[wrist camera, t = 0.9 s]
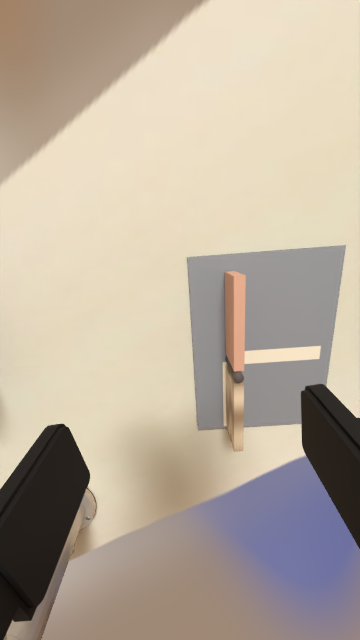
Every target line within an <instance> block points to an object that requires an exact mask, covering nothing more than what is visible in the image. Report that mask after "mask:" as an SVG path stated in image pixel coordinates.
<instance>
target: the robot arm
mask: <svg viewBox="0 0 360 640" xmlns="http://www.w3.org/2000/svg"><path fill="white" fill-rule="evenodd" d="M301 422H302V445H303V449H304V452H305V454H306V456H307V457H308V459H309V461H310V462H311V464H312V466H313V468H314V469H315V471H316V473H317V475H318V477H319V478H320V480H321V482H322V483H323V485H324V487H325V489H326V490H327V492H328V494H329V496H330V498H331V499H332V501H333V503H334V505H335V506H336V508H337V510H338V512H339V513H340V515H341V517H342V519H343V520H344V522H345V524H346V526H347V527H348V529H349V531H350V533H351V534H352V536H353V538H354V540H355V541H356V543H357V545H358V547H359V548H360V418H356V417H355V416H354V415H353V414H352V413H351V412H350V411H349V410H348V409H347V408H346V407H345V406H344V405H343V404H342V403H341V402H340V401H339V400H338V398H337V397H336V396H335V395H334V394H333V393H332V392H331V391H330V390H329V389H328V388H327V387H326V386H325V385H324V384H316V385H309V386H306V387H305V390H303V391H301ZM89 480H90V473H89V470H88V468H87V466H86V464H85V461H84V459H83V457H82V455H81V453H80V451H79V448H78V446H77V444H76V442H75V440H74V438H73V436H72V433H71V431H70V429H69V428H68V427H66V426H65V425H64V424H56V425H50V426H47V427H46V428H45V429H44V431H43V432H42V433H41V435H40V436H39V437H38V439H37V440H36V441H35V443H34V444H33V446H32V447H31V448H30V450H29V451H28V452H27V454H26V455H25V456H24V458H23V459H22V461H21V462H20V463H19V465H18V466H17V467H16V469H15V470H14V472H13V473H12V474H11V476H10V477H9V478H8V480H7V481H6V482H5V484H4V485H3V487H2V488H1V489H0V640H41V638H42V635H43V632H44V629H45V627H46V624H47V621H48V618H49V615H50V612H51V609H52V607H53V604H54V601H55V598H56V595H57V592H58V589H59V587H60V584H61V581H62V578H63V575H64V572H65V570H66V567H67V564H68V561H69V558H70V556H71V555H72V554H73V552H74V544H75V541H76V538H77V535H78V533H79V530H81V529H83V528H85V527H86V526H87V525H88V524H89V523H90V522H91V521H92V519H93V516H94V513H95V510H96V503H95V499H94V497H93V495H92V494H91V492H90V491H89V490H88V489H87V486H88V484H89Z"/></svg>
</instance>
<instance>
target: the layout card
mask: <svg viewBox="0 0 360 640" xmlns="http://www.w3.org/2000/svg"><path fill="white" fill-rule="evenodd" d="M345 248H346V245H342V246H329V247H316V248H303V249H290V250H276V251H263V252H250V253H237V254H224V255H211V256H197V257H187V259H188V275H189V292H190V308H191V324H192V341H193V357H194V374H195V390H196V407H197V423H198V430H211V429H226V428H227V424H226V367H225V365H227V362H226V360H225V358H226V356H227V355H226V338H225V272H227V271H236V272H238V273H241V274H243V275H246V286H245V357H244V371H241V372H242V374H243V376H244V381H243V385H244V427H257V426H272V425H288V424H302V422H301V391H303V390H305V387H306V386H309V385H316V384H324V385H325V386H326V383H327V376H328V369H329V362H330V355H331V348H332V340H333V333H334V326H335V319H336V312H337V305H338V298H339V291H340V283H341V276H342V269H343V262H344V255H345Z"/></svg>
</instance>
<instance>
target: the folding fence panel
mask: <svg viewBox="0 0 360 640" xmlns="http://www.w3.org/2000/svg"><path fill="white" fill-rule="evenodd" d="M245 286H246V275H243V274H241V273H238V272H236V271H227V272H225V338H226V355H227V357H228V360H229V362H230V364H231V366H232V368H233V371H234V372H235V371H244V357H245Z"/></svg>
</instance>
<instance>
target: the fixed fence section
mask: <svg viewBox="0 0 360 640" xmlns="http://www.w3.org/2000/svg"><path fill="white" fill-rule="evenodd" d="M225 360H226V362H227V365H225V367H226V424H227V428H228V431H229V435H230V439H231V442H232V446H233V450H234V452H235V451H243V427H244V385H243V381H244V376H243V374H242V372H241V371H235V372H234V371H233V368H232V366H231V364H230V362H229V360H228V357H227V356H226V358H225Z"/></svg>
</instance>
